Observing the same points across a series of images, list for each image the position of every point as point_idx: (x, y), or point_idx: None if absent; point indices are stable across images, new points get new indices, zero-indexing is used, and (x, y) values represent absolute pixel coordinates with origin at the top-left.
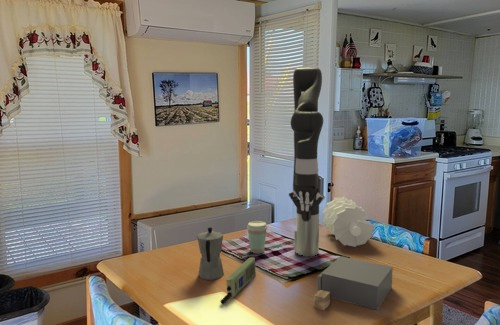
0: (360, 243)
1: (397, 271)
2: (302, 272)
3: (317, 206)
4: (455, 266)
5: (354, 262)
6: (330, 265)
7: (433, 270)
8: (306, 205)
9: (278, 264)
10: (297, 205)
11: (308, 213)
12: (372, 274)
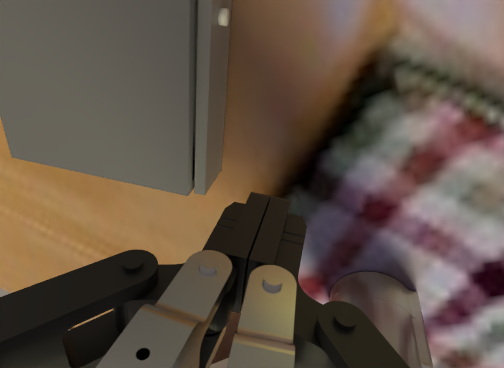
0: (223, 362)
1: (94, 234)
2: (348, 146)
3: (94, 322)
4: (11, 286)
5: (123, 154)
6: (205, 117)
7: (35, 258)
8: (196, 311)
9: (464, 187)
10: (350, 334)
11: (214, 244)
12: (25, 64)
